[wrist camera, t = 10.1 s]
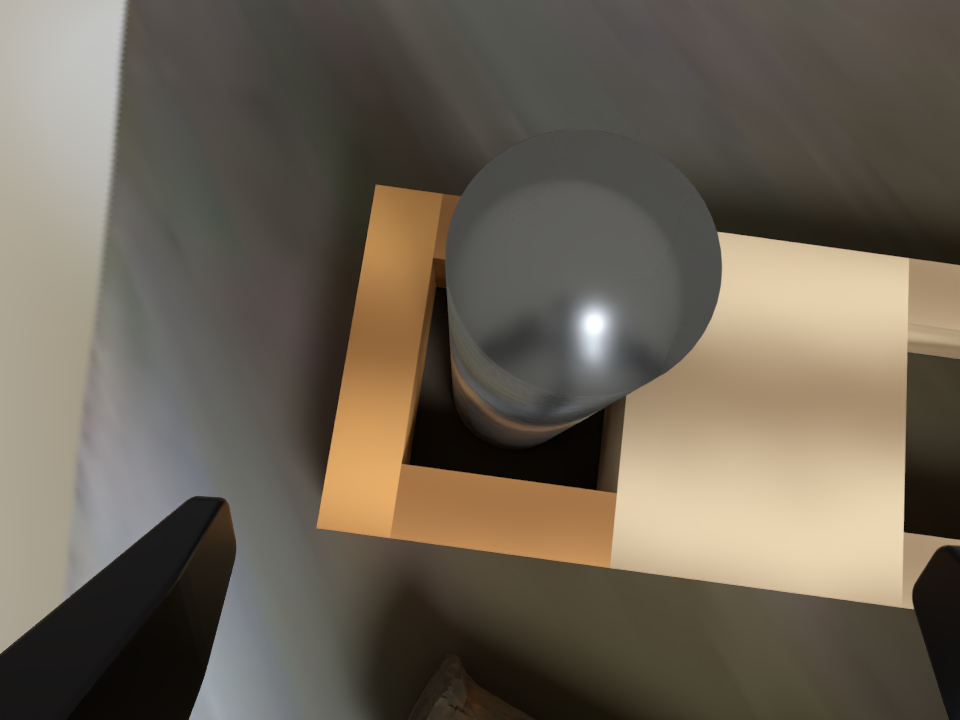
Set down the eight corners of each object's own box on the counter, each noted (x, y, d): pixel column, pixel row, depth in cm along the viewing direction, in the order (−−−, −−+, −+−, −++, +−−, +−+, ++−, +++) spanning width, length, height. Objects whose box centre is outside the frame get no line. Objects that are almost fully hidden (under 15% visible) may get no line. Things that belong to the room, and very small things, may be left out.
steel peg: (592, 426, 23) (765, 343, 10) (475, 466, 22) (498, 433, 10) (551, 312, 23) (662, 97, 11) (436, 349, 23) (409, 174, 10)
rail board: (1126, 630, 22) (1229, 652, 19) (335, 522, 22) (316, 527, 19) (1114, 323, 24) (1207, 299, 21) (386, 222, 24) (375, 184, 21)
